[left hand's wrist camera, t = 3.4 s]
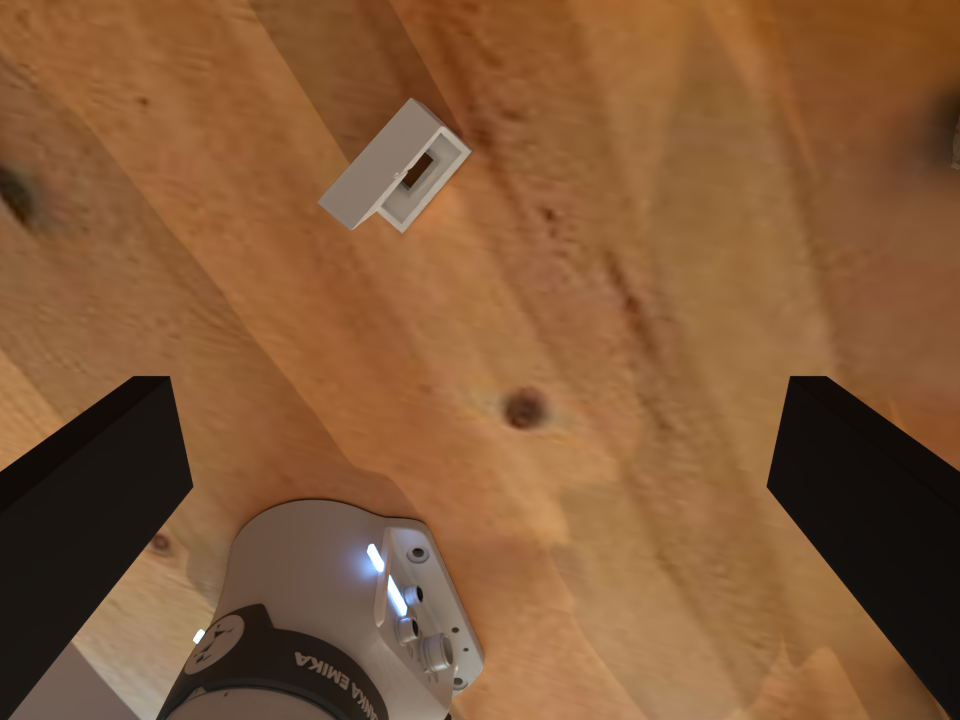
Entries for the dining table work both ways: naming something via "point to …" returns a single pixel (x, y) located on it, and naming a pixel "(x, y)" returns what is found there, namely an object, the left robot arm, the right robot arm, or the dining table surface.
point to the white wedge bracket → (396, 170)
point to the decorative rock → (956, 147)
